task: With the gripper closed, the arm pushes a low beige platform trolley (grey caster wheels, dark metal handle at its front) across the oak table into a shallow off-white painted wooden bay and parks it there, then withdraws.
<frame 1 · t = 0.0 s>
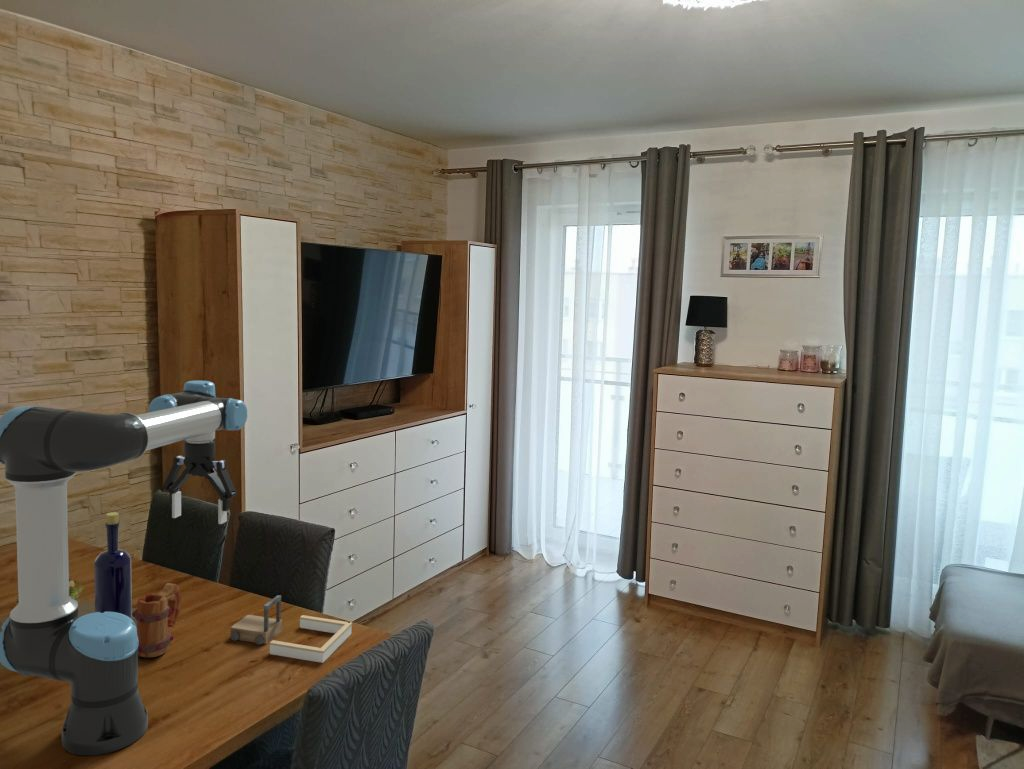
hand: (199, 519, 196), 28 cm above the table, fingers open, 13 cm apart
trolley: (256, 635, 194), on the table
bottle: (113, 626, 195), on the table
bay: (309, 643, 191), on the table
mug: (159, 649, 184), on the table
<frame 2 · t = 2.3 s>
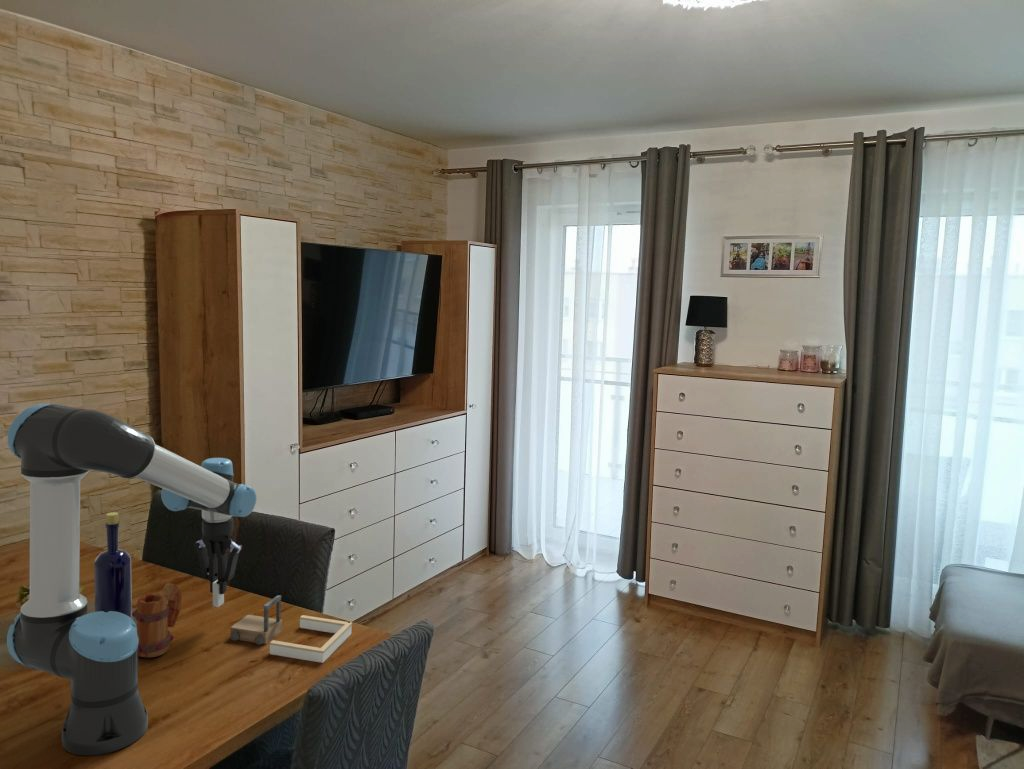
hand: (218, 604, 196), 6 cm above the table, fingers closed
nothing on the table moved.
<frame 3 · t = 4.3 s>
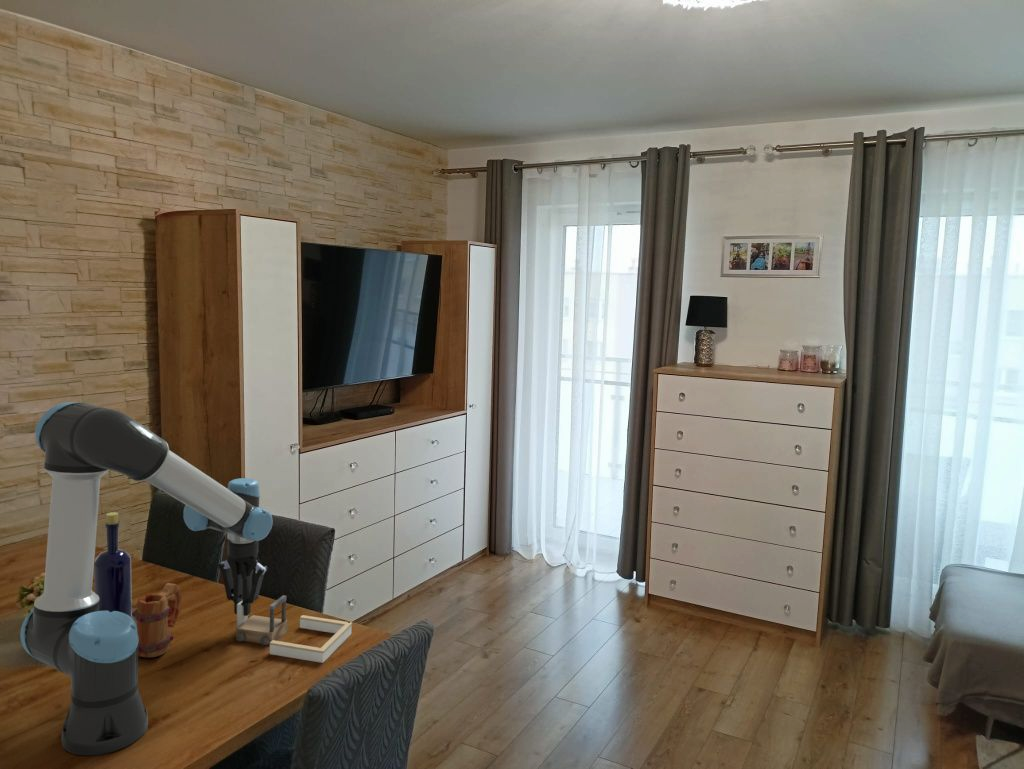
hand: (242, 626, 194), 2 cm above the table, fingers closed
trolley: (262, 635, 193), on the table, touching gripper
everything else where it was.
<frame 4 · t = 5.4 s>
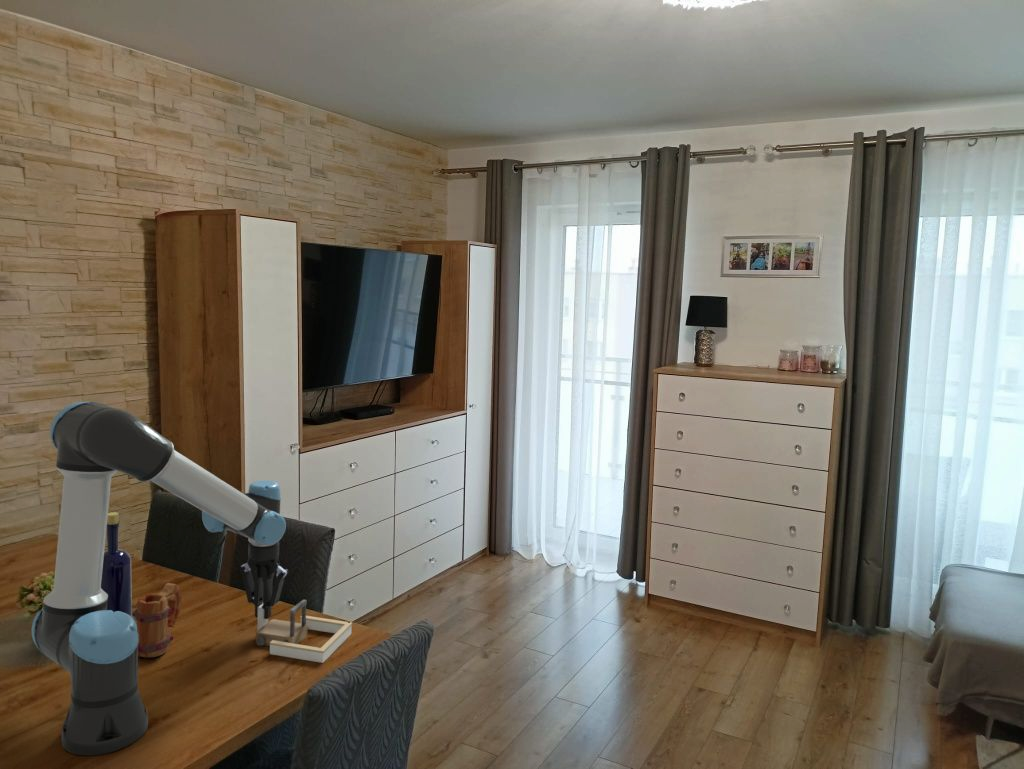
hand: (262, 629, 193), 2 cm above the table, fingers closed
trolley: (282, 640, 192), on the table, touching gripper
everything else where it was.
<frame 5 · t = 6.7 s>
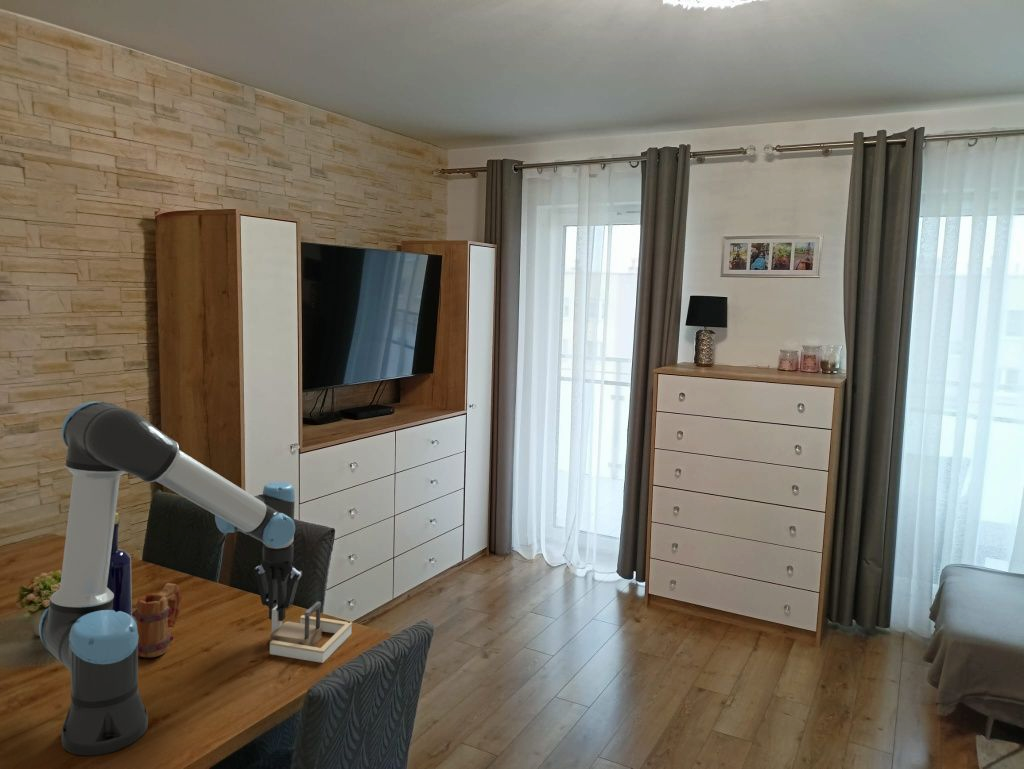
hand: (276, 631, 192), 2 cm above the table, fingers closed
trolley: (296, 642, 191), on the table, touching gripper
everything else where it was.
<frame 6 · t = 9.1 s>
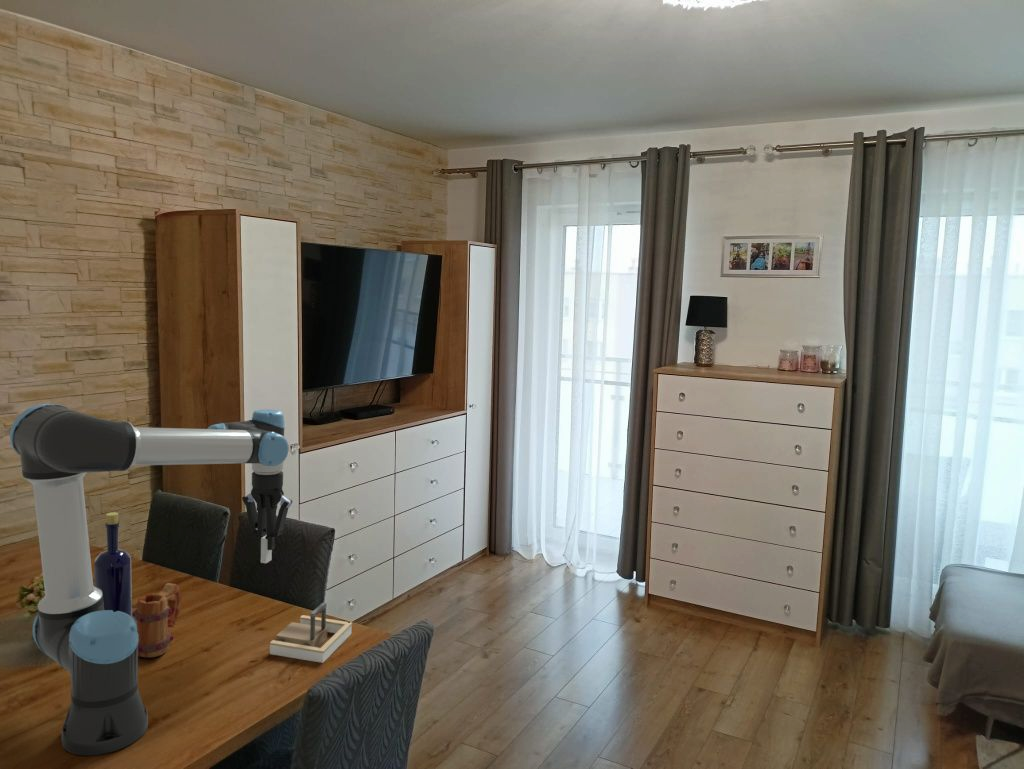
hand: (266, 561, 191), 20 cm above the table, fingers closed
trolley: (301, 643, 191), on the table
everything else where it was.
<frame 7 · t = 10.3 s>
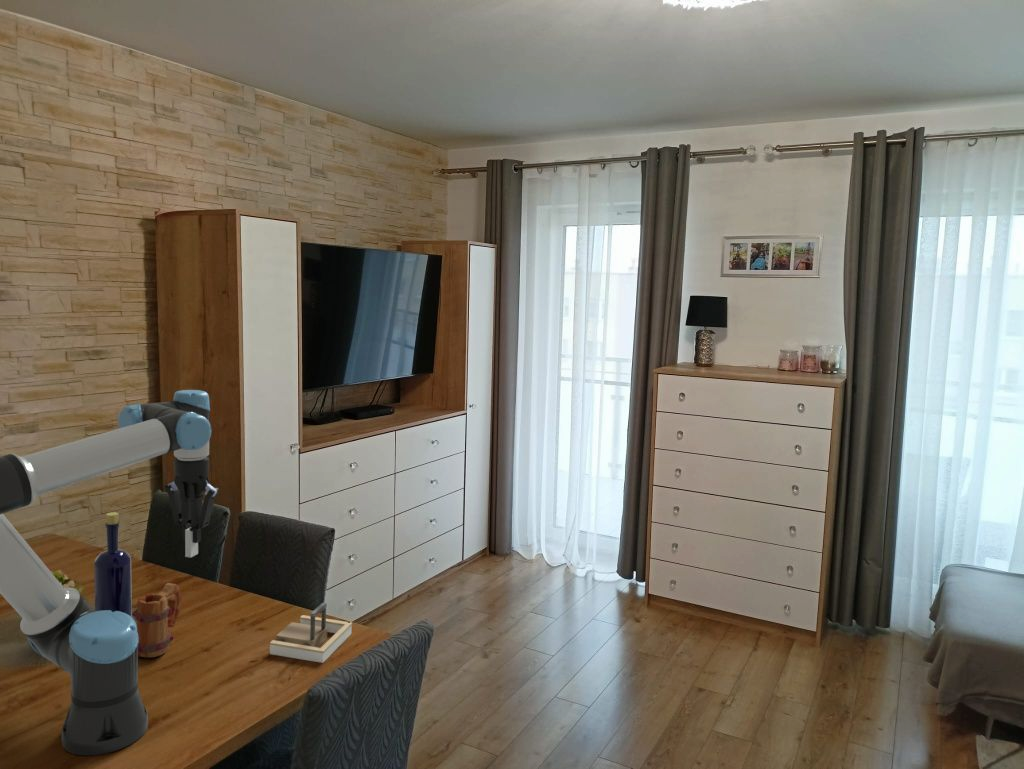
hand: (191, 555, 175), 26 cm above the table, fingers closed
nothing on the table moved.
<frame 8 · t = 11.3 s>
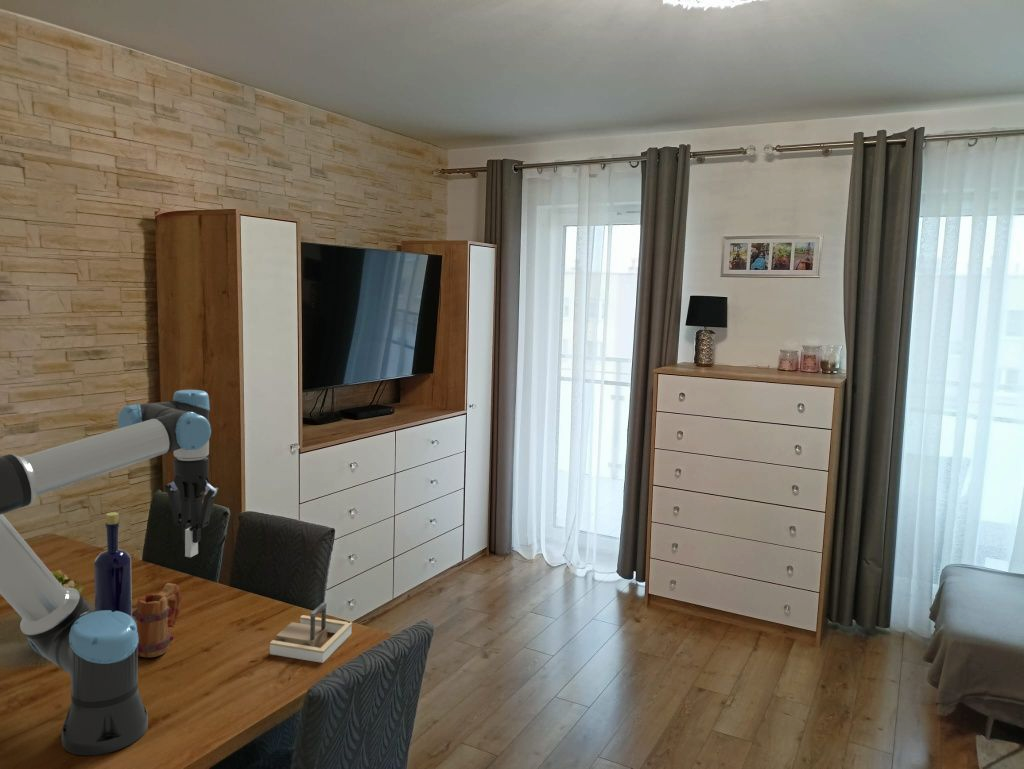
hand: (191, 554, 175), 26 cm above the table, fingers closed
nothing on the table moved.
at the end: trolley inside the target area (3.0 cm from its centre), on the table; trolley tilted 0° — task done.
